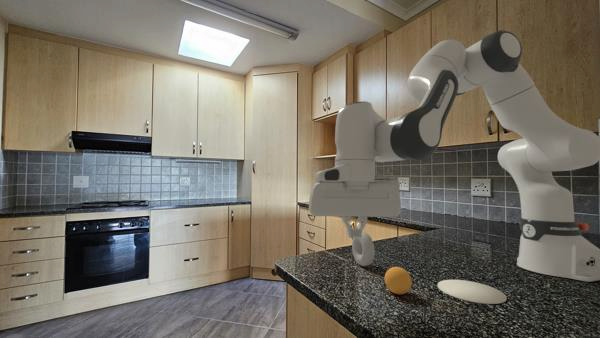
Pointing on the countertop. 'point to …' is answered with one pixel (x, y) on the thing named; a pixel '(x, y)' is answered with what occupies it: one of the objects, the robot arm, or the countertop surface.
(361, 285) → the countertop surface
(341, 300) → the countertop surface
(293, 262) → the countertop surface
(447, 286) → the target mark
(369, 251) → the donut
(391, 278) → the ball
